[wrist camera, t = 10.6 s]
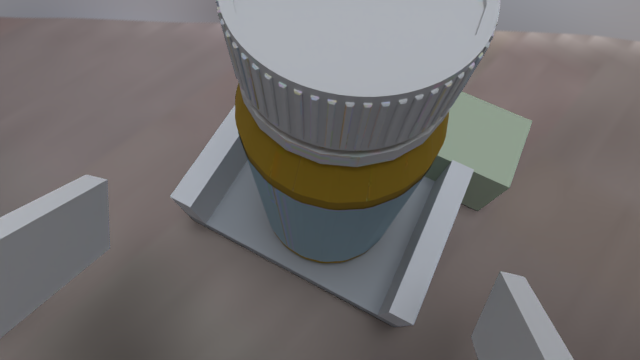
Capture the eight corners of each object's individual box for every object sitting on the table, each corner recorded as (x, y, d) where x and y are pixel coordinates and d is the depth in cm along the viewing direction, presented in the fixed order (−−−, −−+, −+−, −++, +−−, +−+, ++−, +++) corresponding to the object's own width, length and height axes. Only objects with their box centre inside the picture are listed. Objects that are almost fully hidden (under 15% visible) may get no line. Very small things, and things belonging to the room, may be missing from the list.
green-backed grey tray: (499, 152, 25) (534, 119, 21) (428, 345, 20) (456, 347, 17) (285, 59, 27) (281, 13, 24) (179, 212, 23) (153, 187, 19)
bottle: (349, 291, 20) (435, 188, 6) (242, 222, 22) (121, 12, 8) (409, 188, 23) (567, -51, 9) (310, 131, 24) (310, -155, 10)
